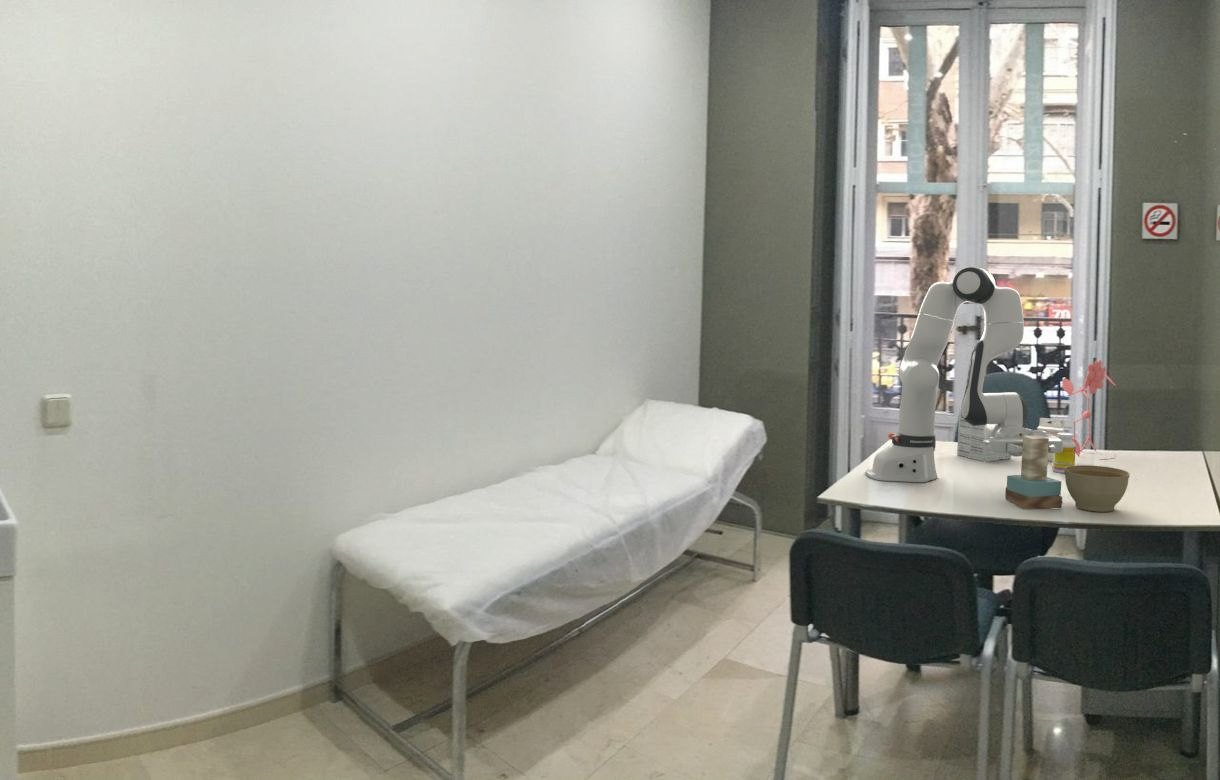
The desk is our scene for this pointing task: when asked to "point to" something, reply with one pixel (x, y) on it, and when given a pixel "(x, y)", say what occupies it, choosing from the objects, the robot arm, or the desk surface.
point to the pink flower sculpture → (1093, 382)
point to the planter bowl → (1096, 486)
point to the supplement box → (975, 442)
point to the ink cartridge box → (1051, 429)
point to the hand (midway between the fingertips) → (1036, 450)
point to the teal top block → (1033, 486)
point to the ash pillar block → (1034, 457)
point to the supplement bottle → (1064, 453)
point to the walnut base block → (1033, 501)
